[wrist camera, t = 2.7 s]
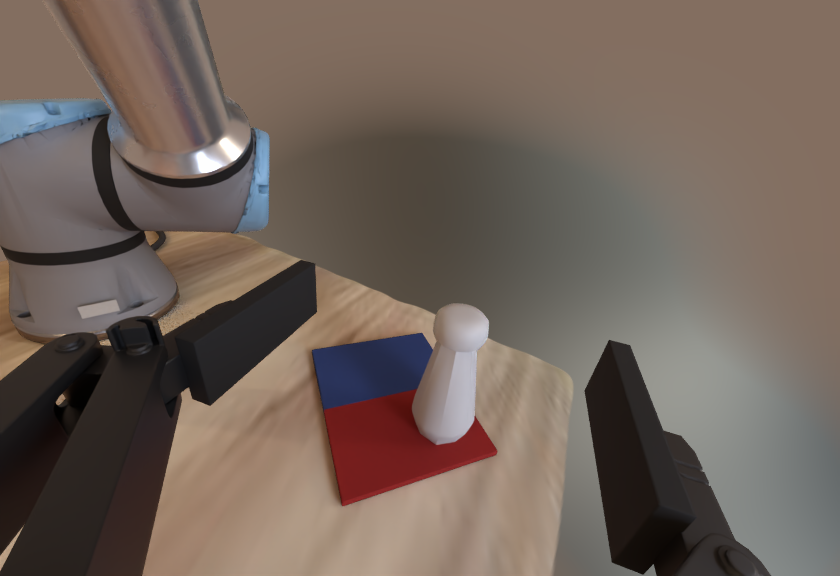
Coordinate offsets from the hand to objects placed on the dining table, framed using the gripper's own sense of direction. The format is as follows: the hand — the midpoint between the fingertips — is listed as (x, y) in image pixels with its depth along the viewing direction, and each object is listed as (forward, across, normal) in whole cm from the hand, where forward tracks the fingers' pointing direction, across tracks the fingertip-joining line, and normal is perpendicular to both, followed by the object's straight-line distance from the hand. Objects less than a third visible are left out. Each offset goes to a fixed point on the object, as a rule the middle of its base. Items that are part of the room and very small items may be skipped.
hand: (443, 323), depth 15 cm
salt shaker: (+10, 0, -18) cm, 21 cm away
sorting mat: (+12, -6, -19) cm, 23 cm away
